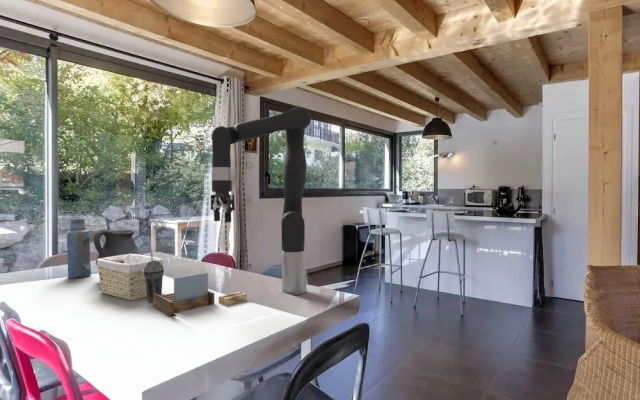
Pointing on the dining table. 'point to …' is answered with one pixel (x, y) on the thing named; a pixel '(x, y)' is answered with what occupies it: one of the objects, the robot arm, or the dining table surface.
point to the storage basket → (124, 275)
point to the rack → (180, 303)
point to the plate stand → (232, 298)
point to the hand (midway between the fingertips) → (222, 221)
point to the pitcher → (115, 243)
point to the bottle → (78, 249)
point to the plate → (190, 286)
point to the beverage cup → (153, 278)
